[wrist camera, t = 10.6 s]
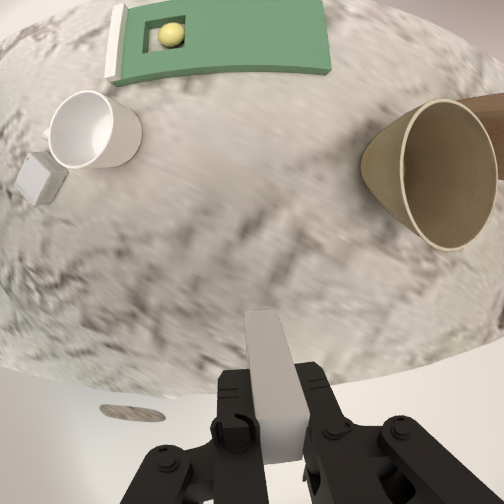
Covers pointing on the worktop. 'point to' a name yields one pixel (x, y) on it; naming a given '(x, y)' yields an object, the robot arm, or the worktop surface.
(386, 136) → the plant pot
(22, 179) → the small box
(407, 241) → the worktop surface
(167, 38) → the ball
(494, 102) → the wooden block
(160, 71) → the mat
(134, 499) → the robot arm
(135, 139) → the mug
